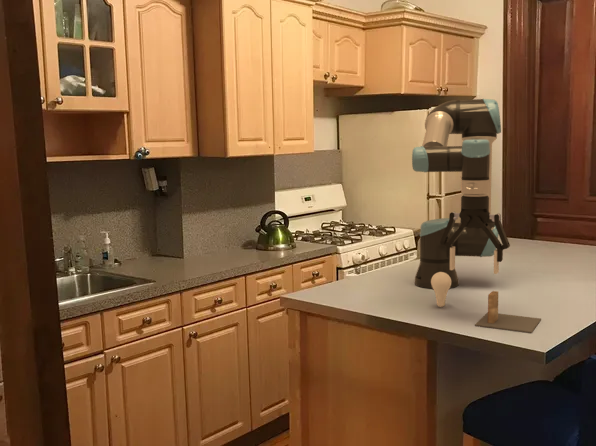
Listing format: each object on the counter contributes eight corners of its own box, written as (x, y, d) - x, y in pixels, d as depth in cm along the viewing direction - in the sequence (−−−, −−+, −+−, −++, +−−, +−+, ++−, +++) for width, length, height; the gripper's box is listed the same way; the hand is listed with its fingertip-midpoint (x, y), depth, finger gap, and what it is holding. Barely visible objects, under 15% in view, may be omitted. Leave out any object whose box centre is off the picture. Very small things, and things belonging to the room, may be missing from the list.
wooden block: (487, 322, 178) (488, 294, 177) (492, 318, 182) (492, 290, 181) (493, 323, 177) (494, 295, 176) (497, 319, 181) (498, 291, 180)
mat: (474, 325, 176) (474, 324, 176) (487, 313, 188) (487, 312, 188) (531, 333, 169) (531, 331, 169) (541, 319, 181) (541, 318, 181)
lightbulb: (448, 304, 200) (448, 269, 198) (453, 309, 194) (453, 274, 192) (428, 304, 199) (428, 270, 198) (433, 310, 193) (433, 274, 192)
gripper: (429, 195, 181) (428, 270, 184) (516, 197, 169) (514, 277, 172) (437, 192, 187) (436, 265, 190) (522, 194, 175) (520, 272, 178)
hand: (473, 271), depth 181 cm, fingers open, 12 cm apart
